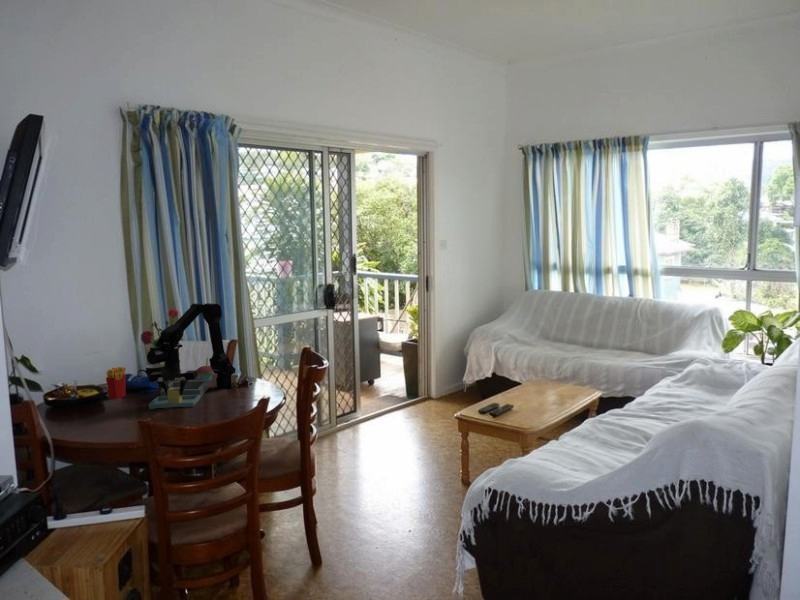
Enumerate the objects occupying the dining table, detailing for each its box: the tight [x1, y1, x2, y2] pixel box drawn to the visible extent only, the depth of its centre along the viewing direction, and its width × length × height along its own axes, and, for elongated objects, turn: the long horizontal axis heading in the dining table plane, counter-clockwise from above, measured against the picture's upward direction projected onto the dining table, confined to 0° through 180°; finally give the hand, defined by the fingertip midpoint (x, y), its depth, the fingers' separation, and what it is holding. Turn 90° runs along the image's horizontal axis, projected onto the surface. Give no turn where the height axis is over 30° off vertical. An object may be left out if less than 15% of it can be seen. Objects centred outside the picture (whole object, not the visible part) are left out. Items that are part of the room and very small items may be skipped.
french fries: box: [105, 366, 126, 400], centre depth 278 cm, size 9×4×13 cm, turn 155°
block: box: [167, 387, 182, 403], centre depth 265 cm, size 4×4×6 cm
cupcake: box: [195, 355, 214, 382], centre depth 304 cm, size 9×8×12 cm
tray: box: [148, 395, 201, 410], centre depth 265 cm, size 18×12×2 cm, turn 95°
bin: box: [159, 379, 210, 398], centre depth 282 cm, size 17×17×4 cm
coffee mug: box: [137, 363, 165, 388], centre depth 294 cm, size 12×9×10 cm
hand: (174, 395), depth 265 cm, fingers open, 5 cm apart
